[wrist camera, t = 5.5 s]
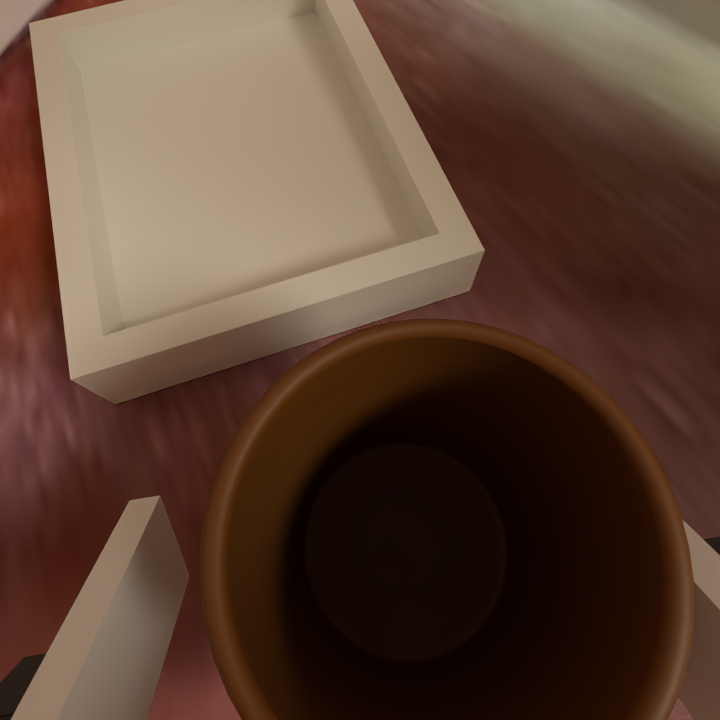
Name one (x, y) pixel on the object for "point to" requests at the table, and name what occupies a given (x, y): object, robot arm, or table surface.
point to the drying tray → (232, 186)
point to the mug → (444, 540)
